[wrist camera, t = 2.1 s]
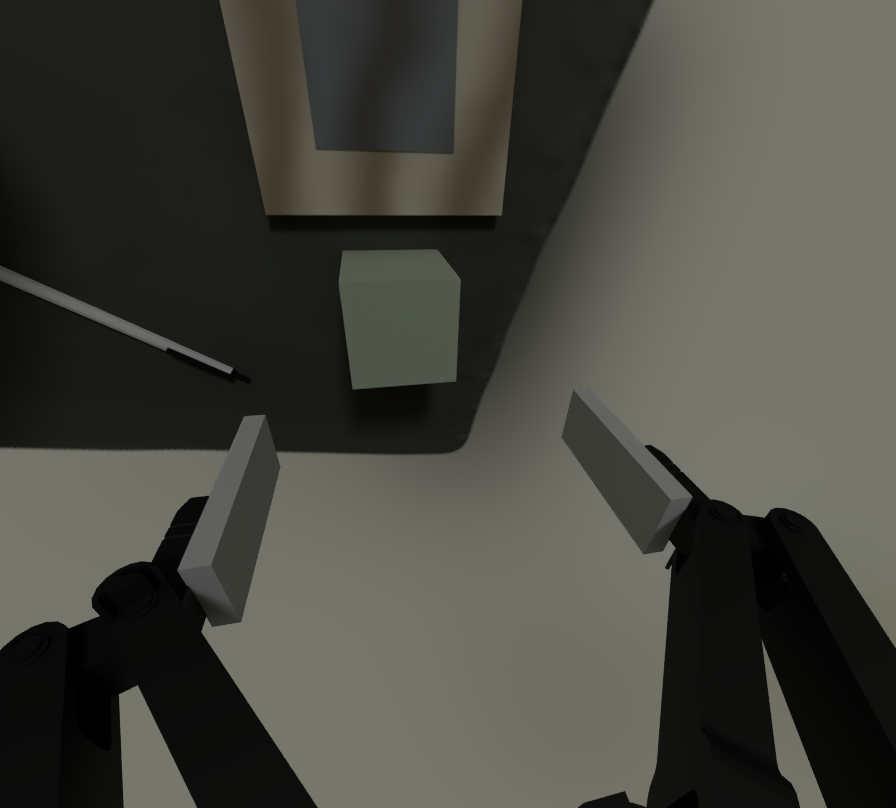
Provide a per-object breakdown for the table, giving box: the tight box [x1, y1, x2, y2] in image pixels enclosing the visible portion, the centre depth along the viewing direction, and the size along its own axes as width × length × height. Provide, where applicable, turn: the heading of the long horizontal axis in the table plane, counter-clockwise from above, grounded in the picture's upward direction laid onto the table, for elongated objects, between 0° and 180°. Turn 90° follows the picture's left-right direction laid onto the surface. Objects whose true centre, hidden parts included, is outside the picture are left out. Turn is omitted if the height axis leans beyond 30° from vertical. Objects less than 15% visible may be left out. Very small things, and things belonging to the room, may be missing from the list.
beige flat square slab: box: [220, 0, 522, 215], centre depth 22 cm, size 16×16×1 cm
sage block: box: [339, 250, 461, 389], centre depth 27 cm, size 7×7×8 cm
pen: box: [0, 266, 250, 383], centre depth 27 cm, size 1×19×1 cm, turn 53°
